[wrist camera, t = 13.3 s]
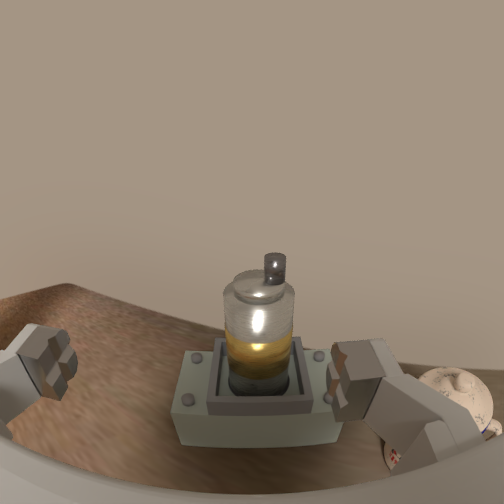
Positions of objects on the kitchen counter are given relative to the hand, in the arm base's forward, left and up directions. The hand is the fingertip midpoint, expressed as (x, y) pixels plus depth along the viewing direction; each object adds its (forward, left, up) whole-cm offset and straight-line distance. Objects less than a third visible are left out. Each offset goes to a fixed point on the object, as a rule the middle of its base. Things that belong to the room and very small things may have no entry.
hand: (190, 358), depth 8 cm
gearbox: (+4, +15, -22) cm, 27 cm away
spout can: (+2, +14, -16) cm, 22 cm away
